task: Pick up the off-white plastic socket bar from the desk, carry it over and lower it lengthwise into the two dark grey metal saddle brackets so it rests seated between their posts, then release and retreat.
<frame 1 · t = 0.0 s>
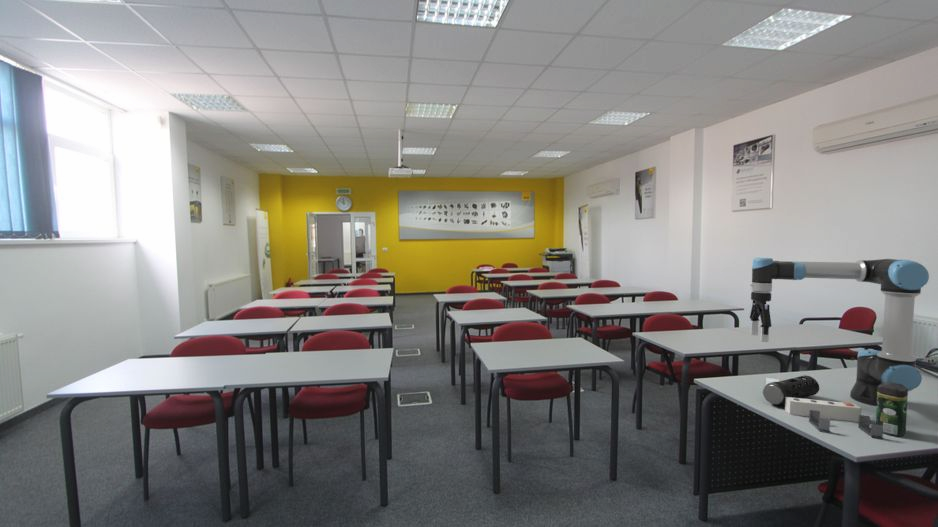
hand: (759, 338, 191), 28 cm above the table, tool pointing down, fingers open, 13 cm apart
muzzle brake: (790, 402, 189), on the table
bracket near: (869, 433, 159), on the table
socket bar: (821, 416, 174), on the table
bracket far: (818, 427, 164), on the table
coffee jar: (889, 432, 160), on the table
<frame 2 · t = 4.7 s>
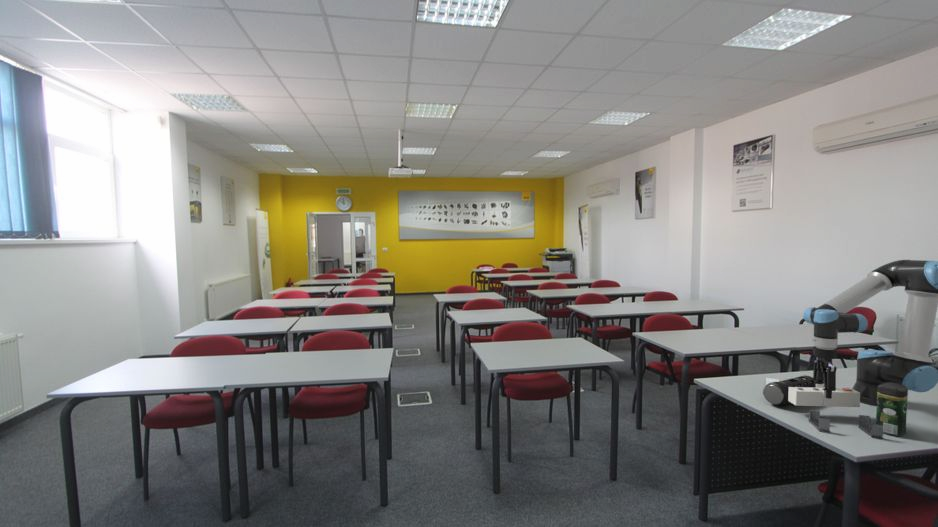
hand: (823, 402, 174), 6 cm above the table, tool pointing down, fingers closed on socket bar, 6 cm apart
socket bar: (823, 403, 174), point 5 cm above the table, touching gripper
everything else where it was.
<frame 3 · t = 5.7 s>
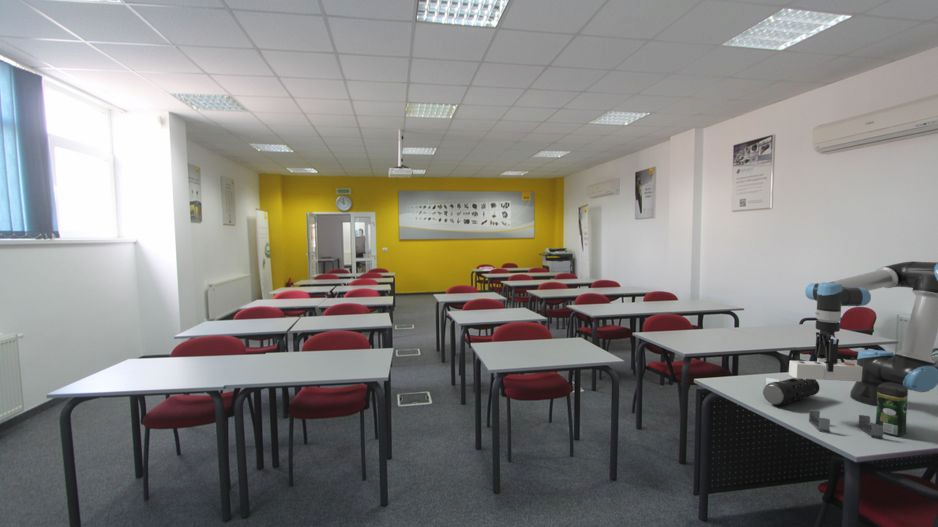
hand: (824, 376, 172), 17 cm above the table, tool pointing down, fingers closed on socket bar, 6 cm apart
socket bar: (824, 377, 172), point 16 cm above the table, touching gripper
everything else where it was.
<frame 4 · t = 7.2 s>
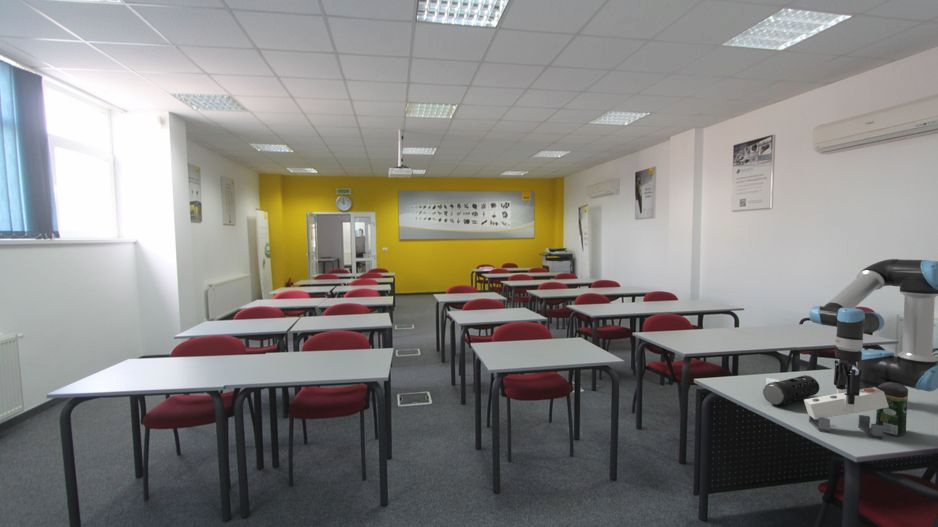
hand: (844, 408, 161), 8 cm above the table, tool pointing down, fingers closed on socket bar, 5 cm apart
socket bar: (847, 410, 161), point 8 cm above the table, tilted 17°, touching gripper
everything else where it was.
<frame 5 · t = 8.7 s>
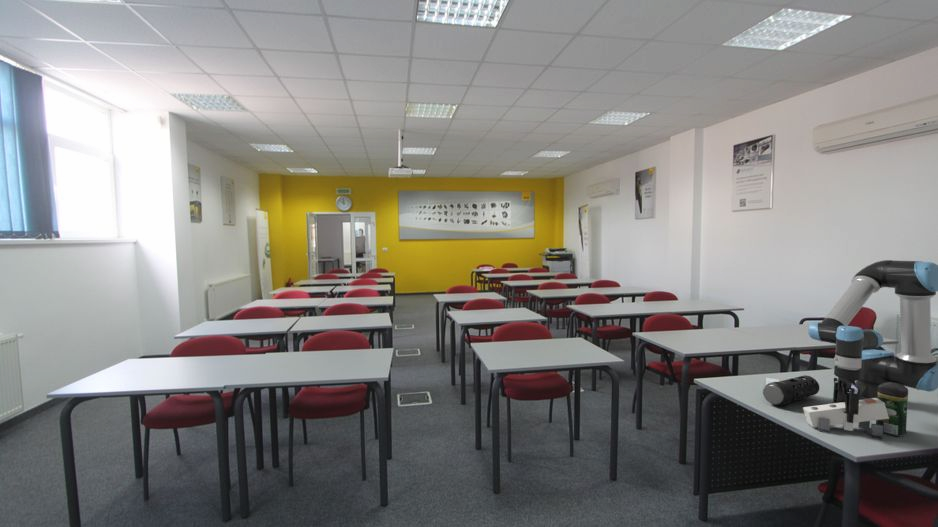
hand: (843, 426, 161), 1 cm above the table, tool pointing down, fingers closed on socket bar, 5 cm apart
socket bar: (846, 420, 161), point 4 cm above the table, tilted 16°, touching gripper
everything else where it was.
when the fingers open (1 cm above the table, at t = 9.1 s): socket bar stays where it is, resting on bracket far, coffee jar.
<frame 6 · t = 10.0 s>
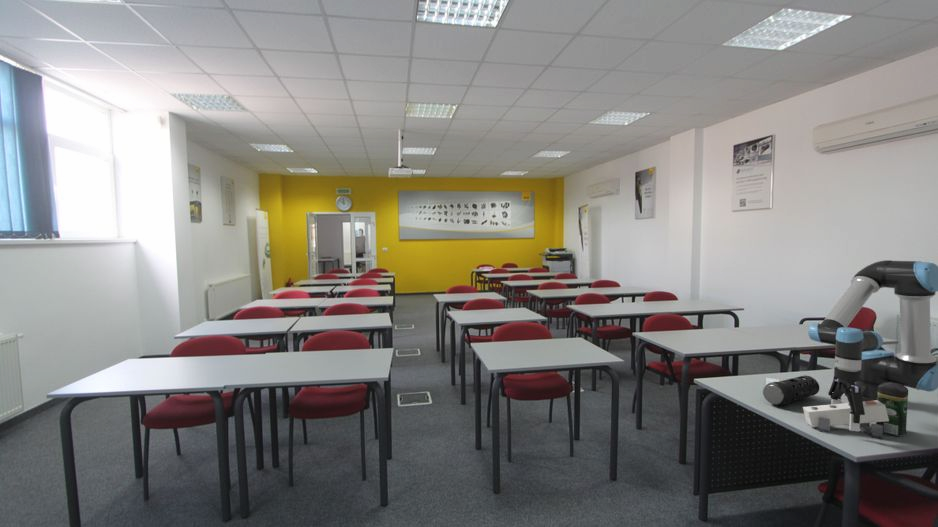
hand: (844, 423, 161), 3 cm above the table, tool pointing down, fingers open, 13 cm apart
socket bar: (846, 421, 161), point 3 cm above the table, tilted 14°, touching bracket far, coffee jar
coffee jar: (890, 432, 160), on the table, touching socket bar
everything else where it was.
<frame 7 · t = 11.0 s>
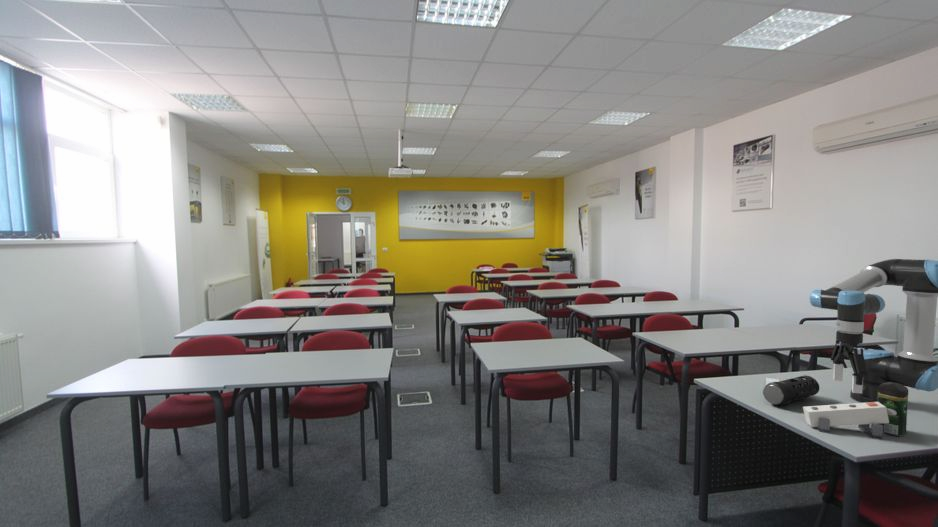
hand: (847, 386, 160), 17 cm above the table, tool pointing down, fingers open, 13 cm apart
nothing on the table moved.
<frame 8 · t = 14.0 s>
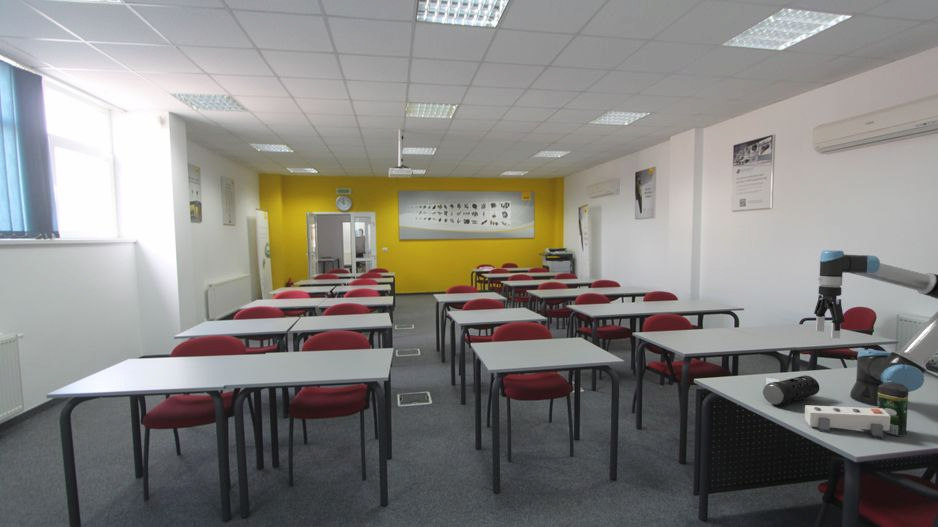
hand: (827, 334, 183), 32 cm above the table, tool pointing down, fingers open, 13 cm apart
socket bar: (845, 424, 161), point 2 cm above the table, tilted 13°, touching coffee jar
everything else where it was.
at the end: socket bar inside the target area (0.4 cm from its centre), point 2.4 cm above the table; socket bar tilted 13°; the gripper is holding nothing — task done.
